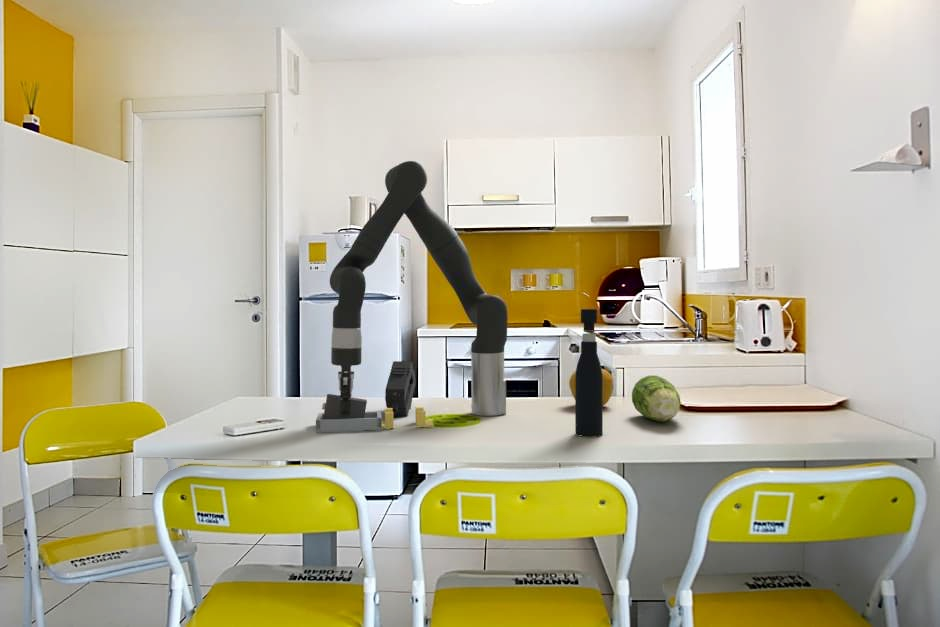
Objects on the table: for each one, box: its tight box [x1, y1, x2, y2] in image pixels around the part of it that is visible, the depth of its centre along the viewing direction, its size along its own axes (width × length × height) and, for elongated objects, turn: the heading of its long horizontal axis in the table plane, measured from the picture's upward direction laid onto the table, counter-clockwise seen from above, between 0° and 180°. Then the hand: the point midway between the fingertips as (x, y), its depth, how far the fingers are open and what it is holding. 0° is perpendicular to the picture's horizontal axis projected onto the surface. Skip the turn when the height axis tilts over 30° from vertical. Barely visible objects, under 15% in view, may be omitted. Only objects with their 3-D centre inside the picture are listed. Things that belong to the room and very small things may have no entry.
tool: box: [384, 359, 417, 417], centre depth 198 cm, size 6×19×15 cm
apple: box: [568, 368, 614, 406], centre depth 208 cm, size 13×13×11 cm
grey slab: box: [321, 393, 368, 419], centre depth 178 cm, size 11×4×6 cm, turn 99°
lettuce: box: [631, 375, 682, 422], centre depth 184 cm, size 12×21×11 cm, turn 178°
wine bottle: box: [574, 308, 604, 437], centre depth 168 cm, size 6×6×30 cm
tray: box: [315, 410, 383, 433], centre depth 178 cm, size 16×10×3 cm, turn 98°
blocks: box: [382, 406, 435, 430], centre depth 180 cm, size 14×7×4 cm, turn 98°
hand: (345, 413), depth 178 cm, fingers closed on grey slab, 3 cm apart
